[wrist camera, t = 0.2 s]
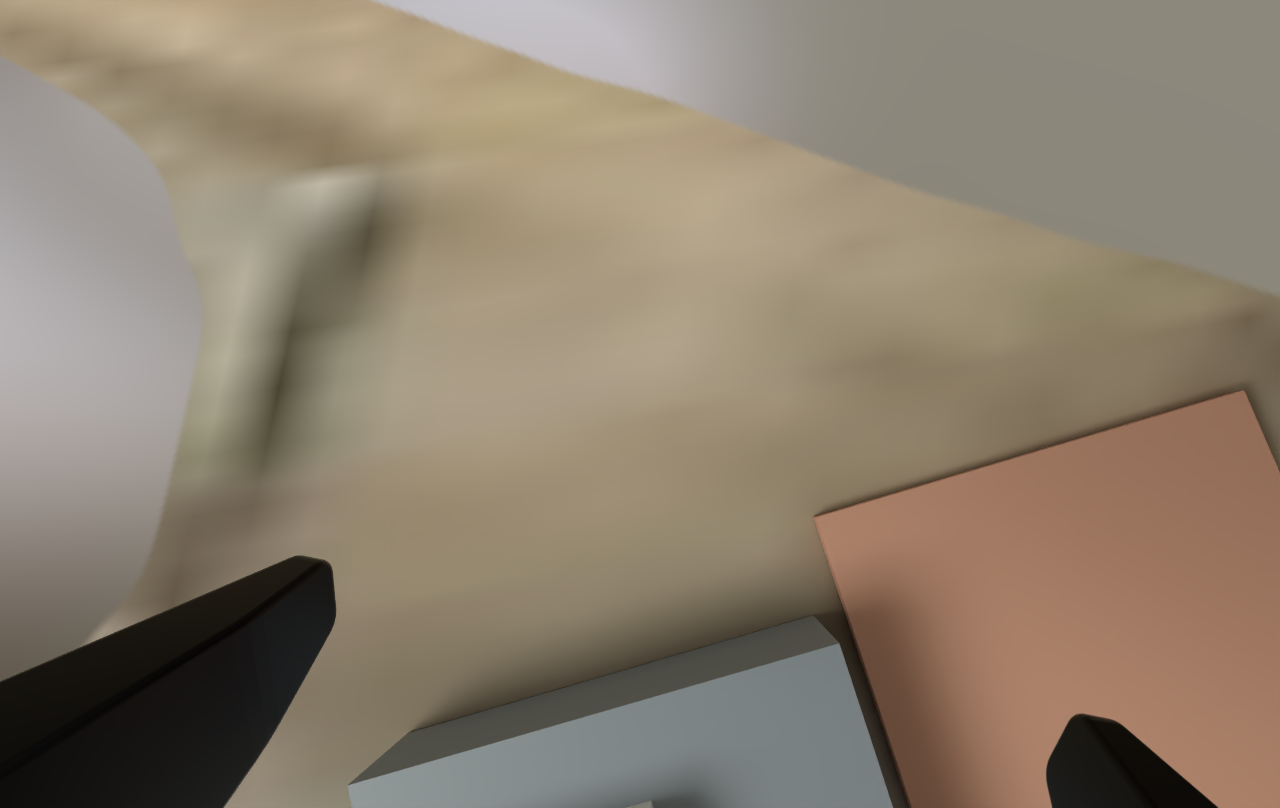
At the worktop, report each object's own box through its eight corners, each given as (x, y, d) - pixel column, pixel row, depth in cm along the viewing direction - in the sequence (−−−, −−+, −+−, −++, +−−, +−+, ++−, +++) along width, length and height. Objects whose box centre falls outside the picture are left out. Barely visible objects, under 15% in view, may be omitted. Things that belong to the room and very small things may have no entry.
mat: (1519, 1063, 19) (1541, 1078, 19) (1034, 1186, 20) (1043, 1204, 19) (1231, 392, 22) (1244, 390, 21) (813, 516, 22) (815, 517, 22)
